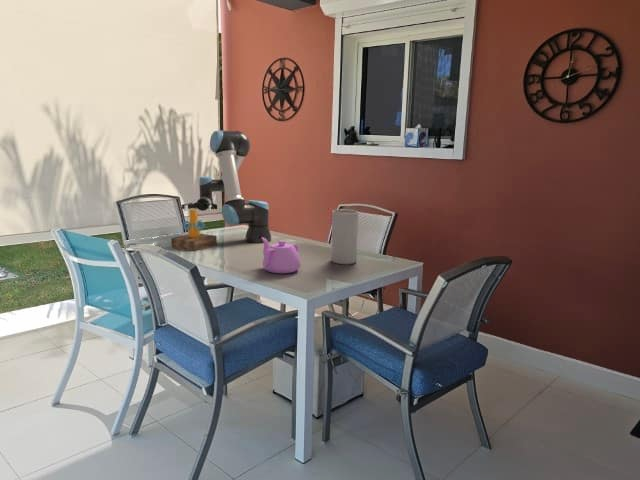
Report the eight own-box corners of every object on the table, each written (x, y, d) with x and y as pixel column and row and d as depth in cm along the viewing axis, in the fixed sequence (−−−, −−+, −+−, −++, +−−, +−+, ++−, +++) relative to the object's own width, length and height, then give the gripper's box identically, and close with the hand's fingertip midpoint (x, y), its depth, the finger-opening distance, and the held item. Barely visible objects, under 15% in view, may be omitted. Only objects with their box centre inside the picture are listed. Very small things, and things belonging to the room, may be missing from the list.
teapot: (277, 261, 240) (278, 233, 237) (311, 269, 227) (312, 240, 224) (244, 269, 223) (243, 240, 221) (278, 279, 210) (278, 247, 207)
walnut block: (216, 244, 272) (216, 235, 271) (194, 250, 257) (194, 241, 256) (194, 241, 279) (194, 232, 278) (171, 247, 264) (171, 238, 263)
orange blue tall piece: (208, 235, 272) (207, 208, 268) (201, 239, 261) (201, 211, 258) (186, 234, 273) (185, 207, 270) (179, 238, 263) (178, 210, 259)
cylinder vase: (360, 260, 244) (362, 211, 239) (349, 266, 233) (351, 214, 228) (338, 257, 250) (340, 208, 245) (326, 262, 240) (327, 211, 234)
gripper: (224, 210, 299) (219, 215, 278) (182, 209, 298) (175, 215, 277) (224, 197, 298) (219, 202, 277) (182, 197, 296) (174, 201, 275)
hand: (197, 208), depth 277 cm, fingers open, 13 cm apart
